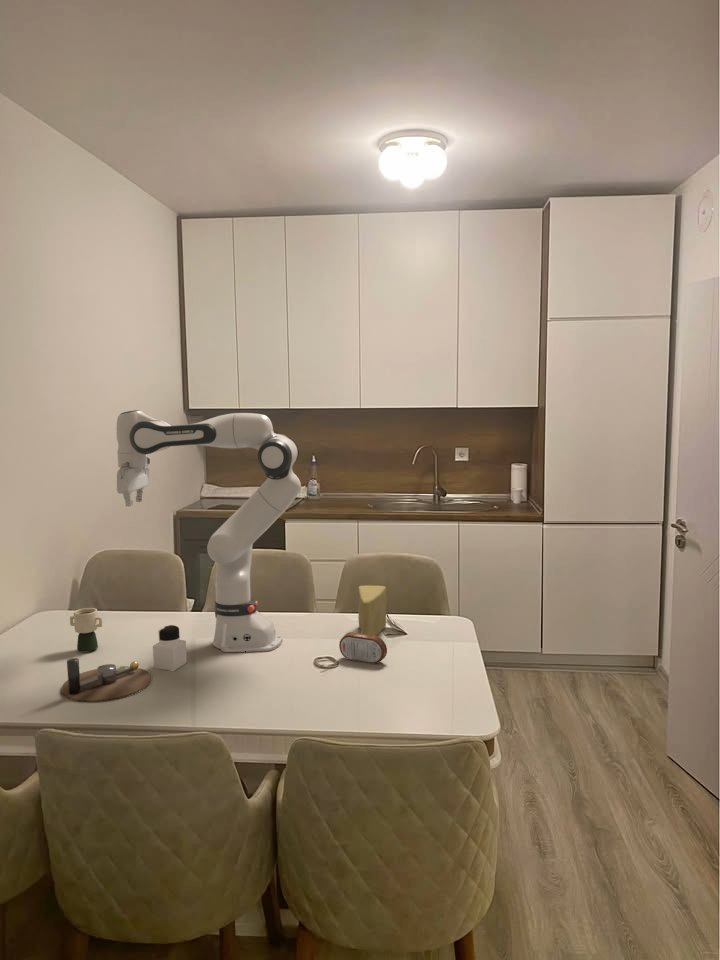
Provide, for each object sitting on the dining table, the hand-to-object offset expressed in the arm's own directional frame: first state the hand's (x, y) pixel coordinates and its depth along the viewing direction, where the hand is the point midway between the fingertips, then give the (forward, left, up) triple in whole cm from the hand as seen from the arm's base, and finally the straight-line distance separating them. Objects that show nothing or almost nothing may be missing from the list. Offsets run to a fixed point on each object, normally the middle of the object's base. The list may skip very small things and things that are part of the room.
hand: (134, 503), depth 241 cm
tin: (-75, +10, -46) cm, 89 cm away
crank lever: (-6, +36, -45) cm, 58 cm away
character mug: (+14, +10, -46) cm, 49 cm away
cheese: (-74, -13, -46) cm, 89 cm away
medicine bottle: (-18, +20, -46) cm, 53 cm away
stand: (-6, +36, -46) cm, 59 cm away
